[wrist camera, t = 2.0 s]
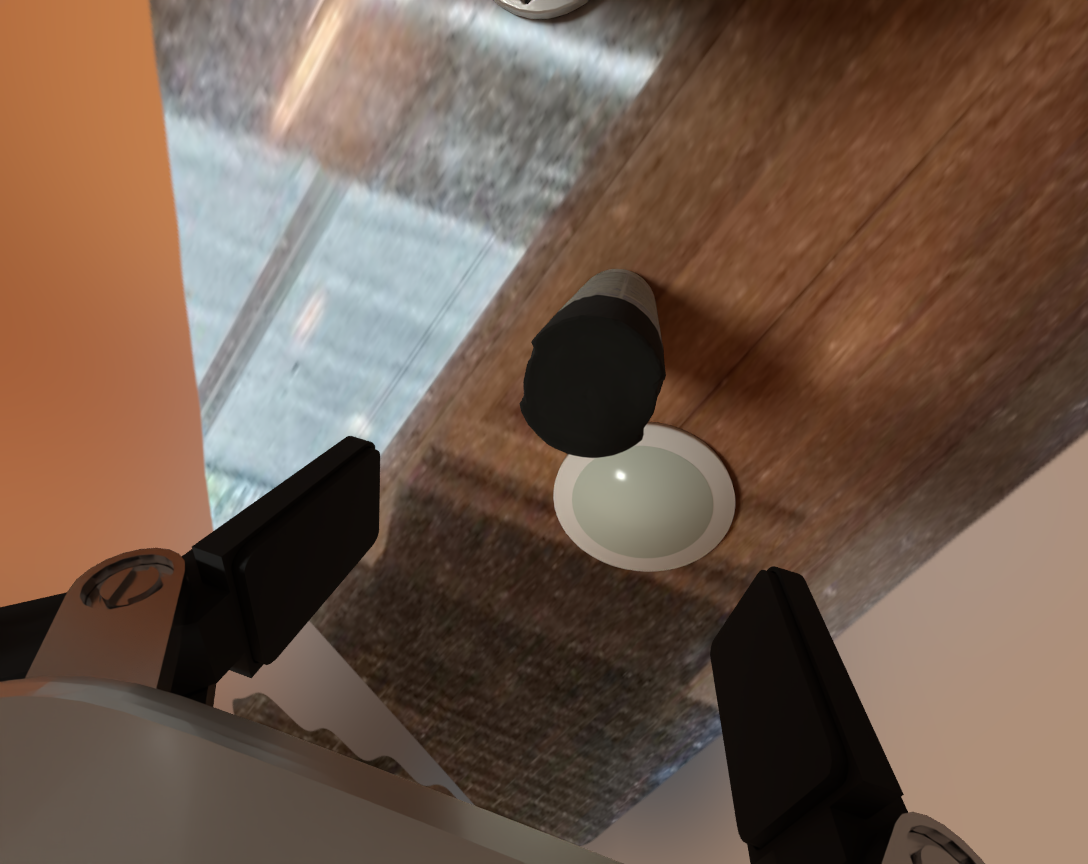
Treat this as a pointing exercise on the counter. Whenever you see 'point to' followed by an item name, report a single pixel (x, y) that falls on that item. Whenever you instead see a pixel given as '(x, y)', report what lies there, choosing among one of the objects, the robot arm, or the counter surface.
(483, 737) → the counter surface
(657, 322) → the spray can
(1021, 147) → the counter surface
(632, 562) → the dish
